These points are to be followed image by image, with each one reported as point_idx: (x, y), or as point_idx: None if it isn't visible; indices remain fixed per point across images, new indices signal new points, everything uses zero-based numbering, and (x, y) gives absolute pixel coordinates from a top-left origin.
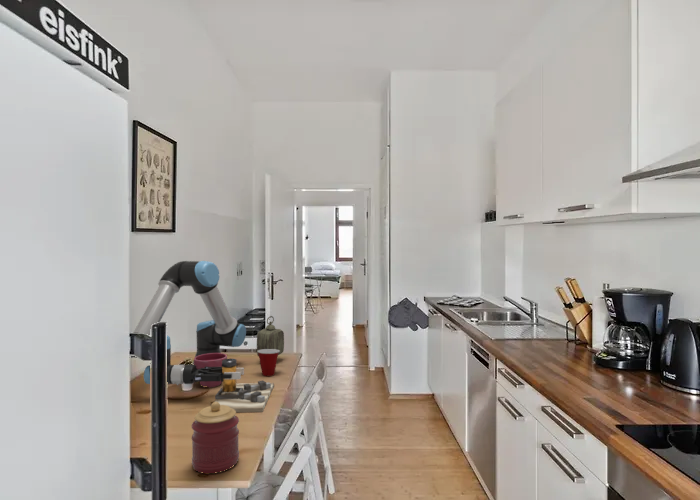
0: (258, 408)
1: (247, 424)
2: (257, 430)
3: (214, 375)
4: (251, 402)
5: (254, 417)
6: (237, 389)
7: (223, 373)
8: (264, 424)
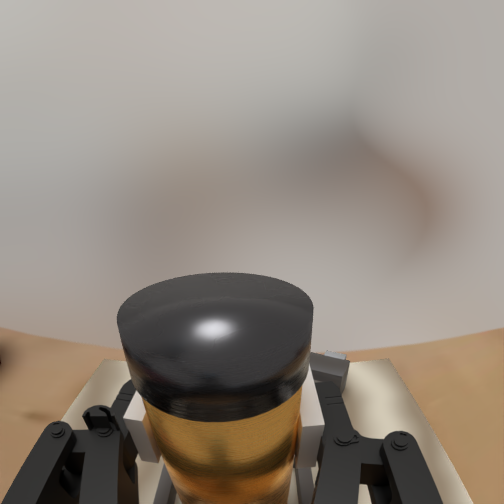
0: (393, 367)
1: (477, 370)
2: (486, 344)
3: (430, 475)
4: (346, 398)
5: (432, 374)
6: None
7: (282, 451)
8: (454, 344)
